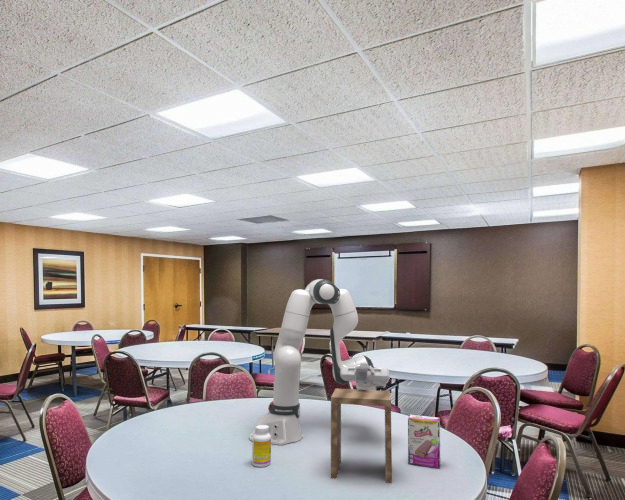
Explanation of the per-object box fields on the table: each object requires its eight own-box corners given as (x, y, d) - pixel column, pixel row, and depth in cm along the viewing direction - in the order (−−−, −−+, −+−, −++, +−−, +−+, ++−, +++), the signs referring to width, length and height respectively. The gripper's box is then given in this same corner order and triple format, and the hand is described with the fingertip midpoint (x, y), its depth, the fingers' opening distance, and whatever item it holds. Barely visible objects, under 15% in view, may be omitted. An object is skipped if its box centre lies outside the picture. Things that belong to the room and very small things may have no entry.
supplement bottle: (272, 466, 144) (272, 428, 146) (253, 468, 143) (254, 430, 144) (268, 459, 151) (269, 423, 152) (250, 461, 149) (251, 424, 150)
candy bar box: (408, 464, 147) (407, 417, 149) (409, 459, 152) (408, 413, 154) (440, 469, 144) (439, 420, 145) (441, 464, 148) (439, 417, 150)
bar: (356, 380, 148) (356, 369, 148) (359, 370, 167) (359, 360, 168) (367, 380, 147) (367, 369, 148) (369, 371, 167) (369, 361, 167)
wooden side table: (330, 478, 135) (331, 397, 139) (335, 461, 149) (335, 388, 152) (392, 483, 132) (390, 400, 135) (391, 466, 146) (390, 390, 149)
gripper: (341, 371, 179) (338, 359, 168) (389, 372, 175) (389, 360, 164) (340, 385, 175) (337, 374, 164) (389, 387, 171) (389, 376, 160)
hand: (363, 367), depth 164 cm, fingers closed on bar, 3 cm apart
